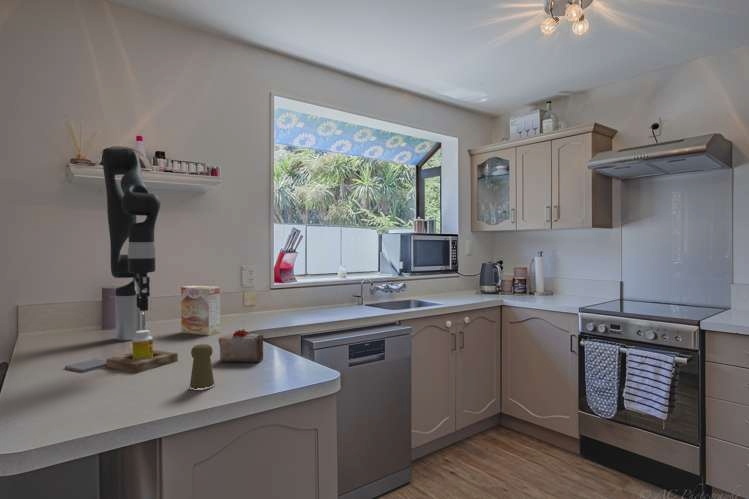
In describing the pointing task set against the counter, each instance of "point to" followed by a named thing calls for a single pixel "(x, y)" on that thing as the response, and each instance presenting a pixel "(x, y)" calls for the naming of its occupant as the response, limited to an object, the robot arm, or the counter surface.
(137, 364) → the board
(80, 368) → the coaster
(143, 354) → the supplement bottle
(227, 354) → the food item
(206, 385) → the cork
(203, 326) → the coffeecake box
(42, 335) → the counter surface
